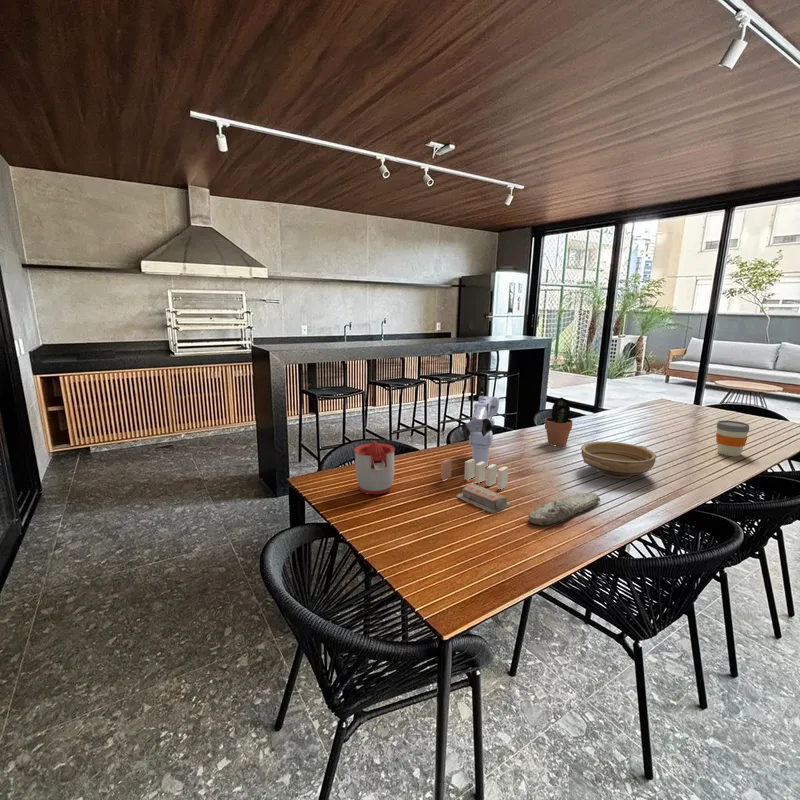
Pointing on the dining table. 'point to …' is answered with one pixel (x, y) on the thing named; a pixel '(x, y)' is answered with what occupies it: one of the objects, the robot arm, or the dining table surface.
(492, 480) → the domino
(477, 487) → the packaged product
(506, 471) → the domino
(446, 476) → the brown rectangular block
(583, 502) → the long grey stone
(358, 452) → the citrus juicer
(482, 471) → the domino
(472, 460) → the cream white flat block
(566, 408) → the potted plant
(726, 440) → the reusable coffee cup
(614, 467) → the ceramic bowl
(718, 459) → the dining table surface
